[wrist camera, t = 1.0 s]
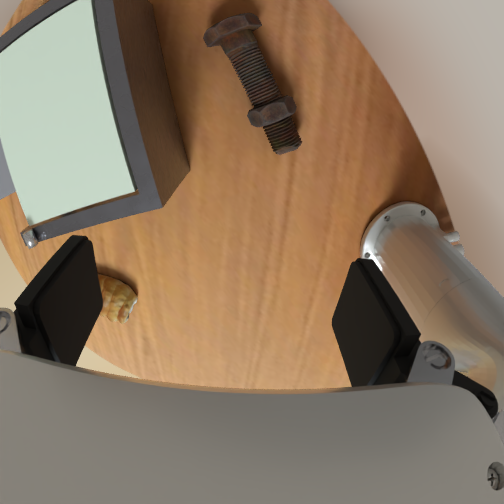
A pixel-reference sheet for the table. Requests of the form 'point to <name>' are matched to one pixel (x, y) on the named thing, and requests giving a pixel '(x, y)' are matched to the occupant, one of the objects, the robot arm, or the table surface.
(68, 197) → the trapdoor
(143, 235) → the table surface
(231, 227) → the table surface
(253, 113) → the bolt
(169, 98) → the frame
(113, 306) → the pastry
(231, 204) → the table surface
